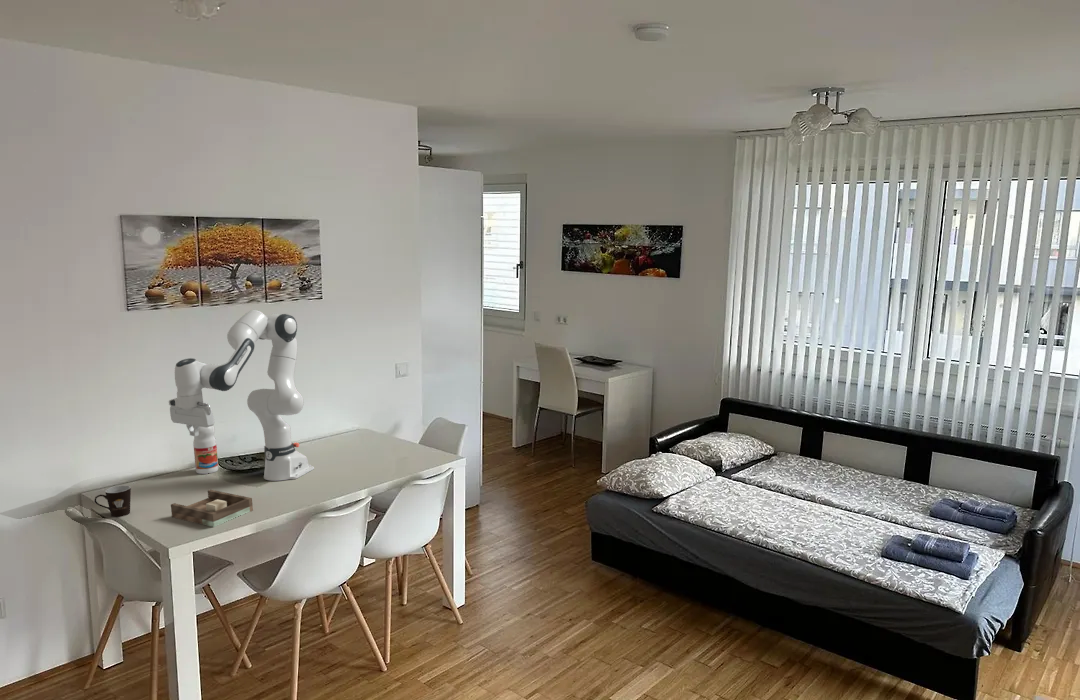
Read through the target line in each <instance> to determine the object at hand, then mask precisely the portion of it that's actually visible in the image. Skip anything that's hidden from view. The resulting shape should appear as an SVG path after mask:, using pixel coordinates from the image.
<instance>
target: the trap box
mask: <svg viewBox="0 0 1080 700" xmlns="http://www.w3.org/2000/svg"><path fill="white" fill-rule="evenodd" d="M217 499H218V500H223V501H226V502H227V507H225V508H222V509H220V510H217V511H215V512H211V511H207V509H206V503H209V502H212V501H214V500H217ZM253 505H254V504H253V498H252V497H249V496H244V495H239V494H233V493H228V492H224V491H220V490H214V489H208V490H207V498H205V499H202V500H200V501H197V502H194V503H191V504H189V505H184V504H179V503H176V502H174V503H171V504H170V508H171V509H170V510H171V517H172V518H175V519H177V520H183V521H186V522H190V523H196V524H200V525H204V526H208V527H211V528H212V527H213V528H215V527H217V525H218V526H220V525H222V524H225V523H227V522H229V521H231V519H232V520H234V519H236V518H239V517H241V516H243V515H246V514H248V513H251V512H252V511H254V507H253ZM245 513H246V514H245ZM240 515H241V516H240ZM238 516H239V517H238ZM235 517H236V518H235ZM233 518H234V519H233ZM228 520H229V521H228ZM226 521H227V522H226ZM224 522H225V523H224Z"/></svg>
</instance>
